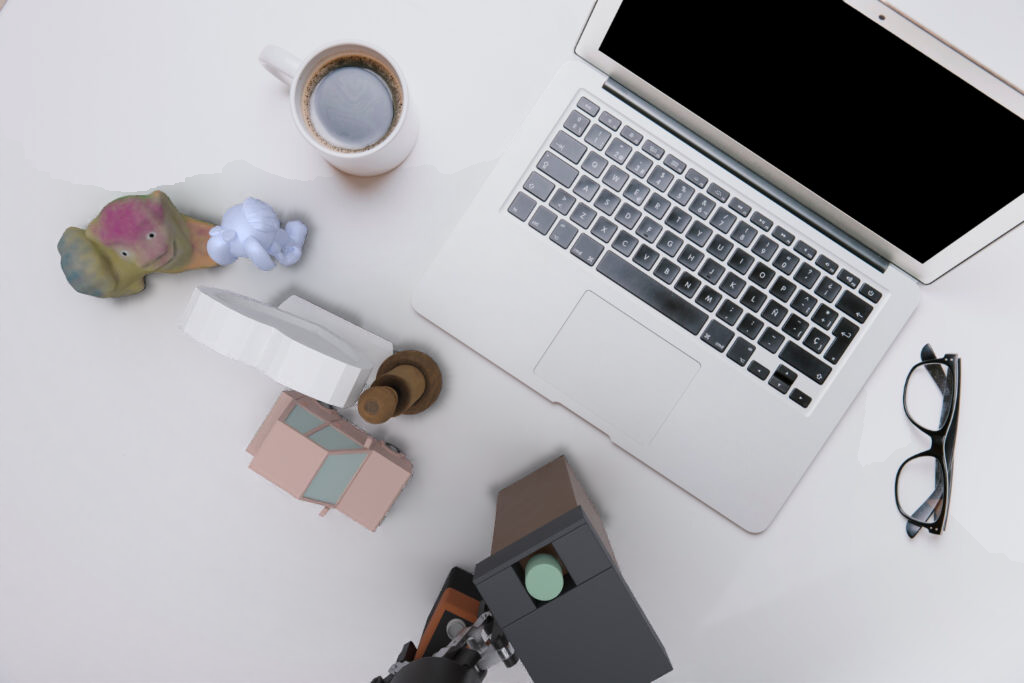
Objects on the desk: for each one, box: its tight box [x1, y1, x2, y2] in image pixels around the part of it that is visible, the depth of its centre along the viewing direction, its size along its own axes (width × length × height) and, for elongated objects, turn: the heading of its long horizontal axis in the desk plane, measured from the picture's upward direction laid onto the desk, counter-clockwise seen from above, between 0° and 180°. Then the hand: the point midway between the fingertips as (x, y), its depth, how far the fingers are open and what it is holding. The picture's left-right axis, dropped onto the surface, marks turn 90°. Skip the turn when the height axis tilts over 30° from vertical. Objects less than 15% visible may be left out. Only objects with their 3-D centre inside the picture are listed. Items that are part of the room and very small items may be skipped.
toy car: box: [245, 389, 414, 533], centre depth 66 cm, size 9×15×10 cm, turn 57°
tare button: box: [525, 553, 563, 601], centre depth 47 cm, size 3×3×2 cm
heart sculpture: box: [177, 286, 394, 409], centre depth 61 cm, size 16×5×18 cm, turn 64°
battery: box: [413, 566, 483, 661], centre depth 64 cm, size 4×7×10 cm, turn 154°
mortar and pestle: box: [356, 349, 443, 425], centre depth 61 cm, size 7×6×18 cm
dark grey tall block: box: [473, 454, 674, 683], centre depth 59 cm, size 13×9×24 cm
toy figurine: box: [207, 196, 308, 272], centre depth 64 cm, size 7×6×12 cm
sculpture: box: [56, 189, 220, 299], centre depth 65 cm, size 15×8×10 cm, turn 114°
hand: (451, 628), depth 63 cm, fingers closed on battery, 8 cm apart
